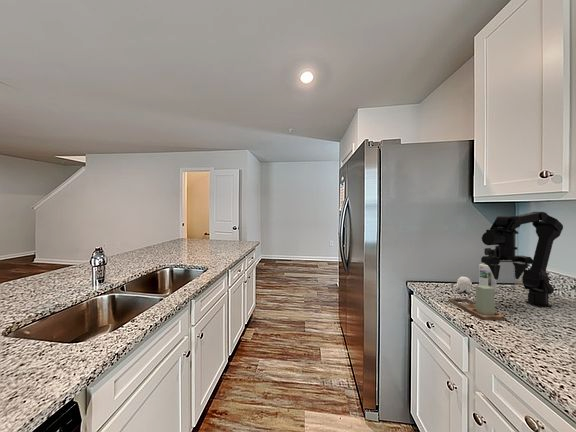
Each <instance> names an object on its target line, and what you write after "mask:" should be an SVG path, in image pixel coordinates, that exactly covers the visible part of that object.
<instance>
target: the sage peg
mask: <svg viewBox="0 0 576 432" xmlns="http://www.w3.org/2000/svg"><path fill="white" fill-rule="evenodd" d="M495 293H496V292H495V288H492V287H489V286H487V285H479V284H478V285H475V303H476V312H477V313H479V314H481V315H483V316H492V315H495V312H496V308H495V307H496V303H495V298H496V297H495Z"/></svg>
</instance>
